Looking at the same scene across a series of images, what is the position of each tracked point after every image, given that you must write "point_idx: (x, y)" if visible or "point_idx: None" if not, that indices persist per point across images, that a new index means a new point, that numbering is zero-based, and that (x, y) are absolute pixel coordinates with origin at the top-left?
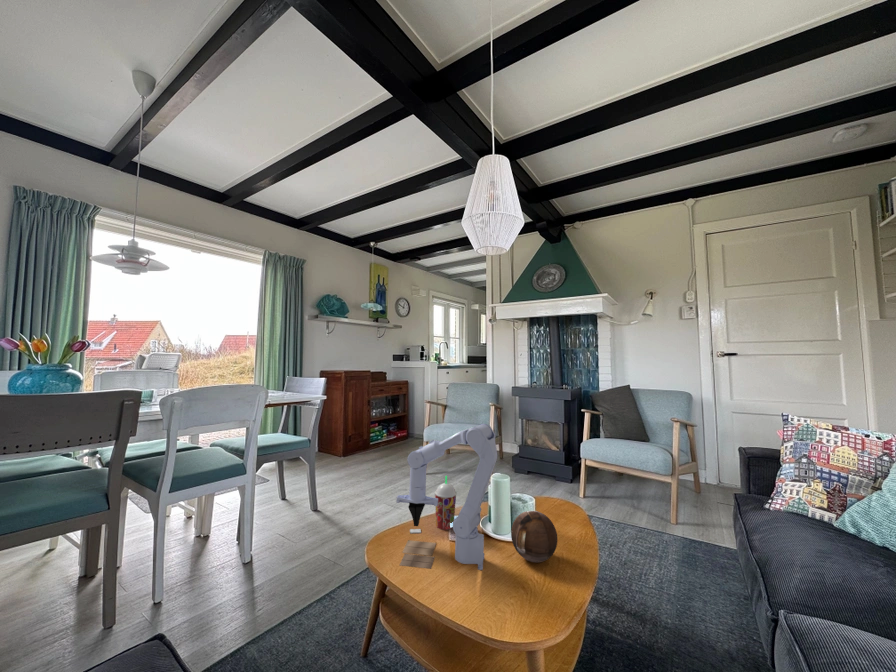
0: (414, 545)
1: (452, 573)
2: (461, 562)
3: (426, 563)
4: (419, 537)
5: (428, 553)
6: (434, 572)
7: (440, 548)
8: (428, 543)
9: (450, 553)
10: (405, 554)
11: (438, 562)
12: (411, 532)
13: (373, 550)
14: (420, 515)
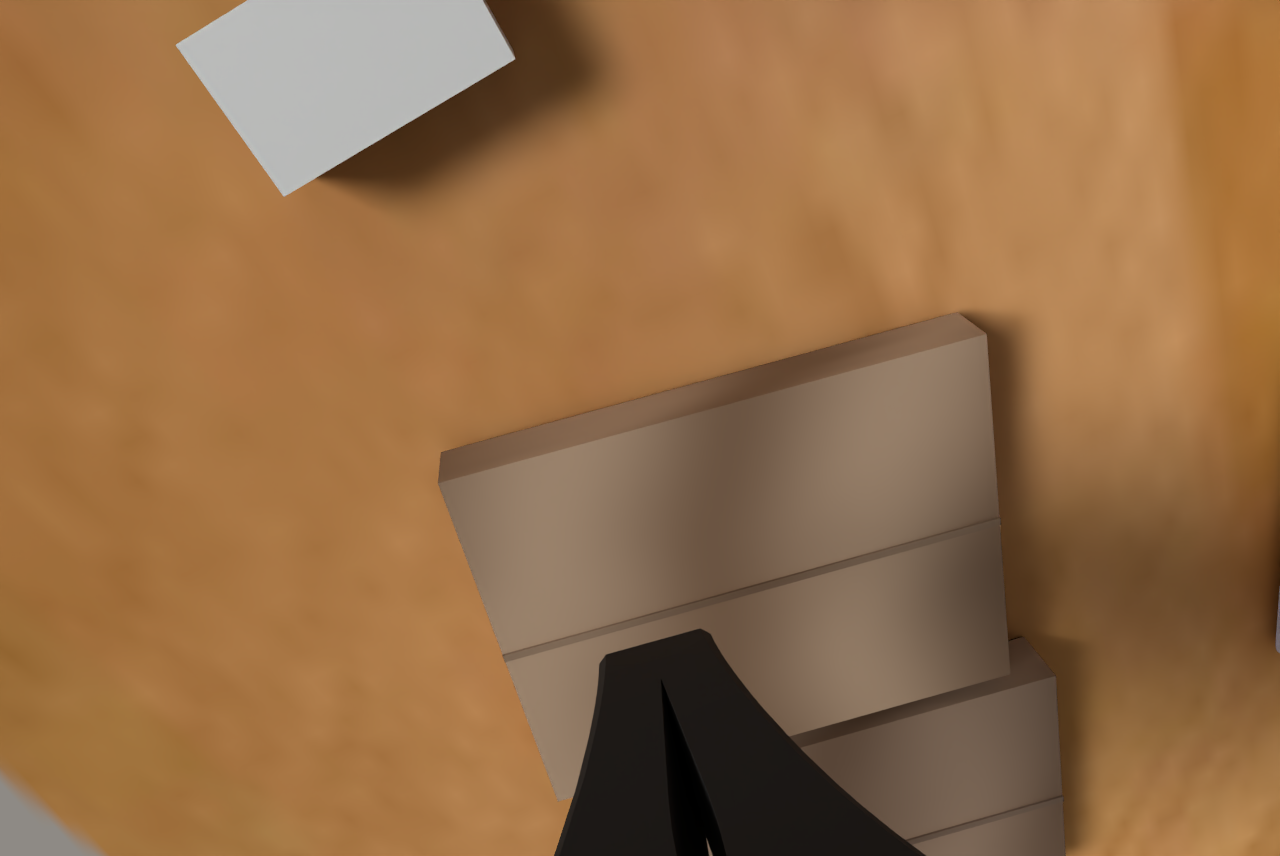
0: (641, 575)
1: (1275, 735)
2: None
3: (984, 837)
4: (496, 82)
5: (942, 651)
6: (1070, 808)
7: (1027, 294)
8: (854, 415)
9: (1211, 361)
10: None
11: (1076, 633)
12: (313, 176)
13: (46, 810)
14: (801, 771)
